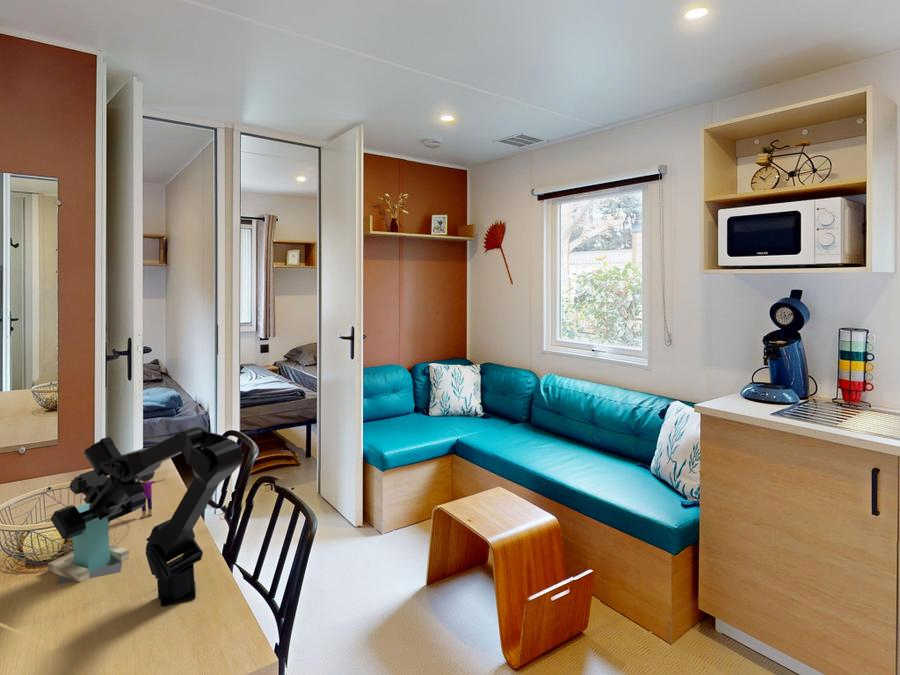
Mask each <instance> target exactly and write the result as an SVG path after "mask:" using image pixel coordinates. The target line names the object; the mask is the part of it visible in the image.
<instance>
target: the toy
mask: <svg viewBox="0 0 900 675" xmlns="http://www.w3.org/2000/svg"><path fill="white" fill-rule="evenodd" d="M155 474H156V472H155V471H154V472H153V473H150V474H148V475H145V476H142V477H139V478H140V481H141V482H142V485H143V487H144V492H143V493H144V495H145V496H146V503H145V505H144V506H143V507H142V508H141V513H142V514H141V517H142V518H143V519H145V518H146V517H147V515H148V516H149V517H152V516H153V505H152V504H153V499H152V497H153V493H152V491H153V490H152V485H153V484H156V483H160V482H163V481H166V478H161V479H157V480H153V481H151V480H152V479H153V478H154V476H155ZM146 511H148V513H147V512H146ZM151 515H152V516H151Z"/></svg>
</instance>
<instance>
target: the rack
mask: <svg viewBox="0 0 900 675" xmlns="http://www.w3.org/2000/svg"><path fill="white" fill-rule="evenodd" d="M109 546H110V558H111V559H115V560H118V561H121V562H122V561H125V560H127V559H128V560H129V559H130V549H128V548H126V547H125V548H124V547H121V546H118V545H114V544H111V543H109ZM122 563H123V562H122ZM47 565H48V566H47V567H48V572H49V573H52V574H54V575H57V576H63V577H66V578H69V579H72V580H75V581H74V582H78V583H82V582H84V581H86V580H89V579H90V578H89V569H87V568H83V567H80V566H77V565H74V551H72V552H70V553H68V554H66V555H63V556H61V557H59V558H56V559H54V560H52V561H50V562H48V563H47Z"/></svg>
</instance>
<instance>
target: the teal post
mask: <svg viewBox="0 0 900 675" xmlns="http://www.w3.org/2000/svg"><path fill="white" fill-rule="evenodd" d="M89 505H90V504H89V503H88V504H86V503H85V504H81V505H80V506H77V507H76V508H77V510H78V511H79V513H82V512H84V511H87V510H89ZM71 539H72V548H73V550H72V552H74V564H75V565H77V566H80V567H83V568H87V569H89V573H90V572H92V571H94V570H96V569H98V568H100V567H102V566H104V565H106V564H108V563H110V562H111V561H110V546H109V544H110V536H109V522H108V517H107V518H105V519H102V520H99V518H97V519H94V520H92V521H89V522H87V523H86V529H85V530H84V531H83V533H82V534H79V535H77V536H75V537H72V538H71Z"/></svg>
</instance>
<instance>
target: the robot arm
mask: <svg viewBox="0 0 900 675" xmlns="http://www.w3.org/2000/svg"><path fill="white" fill-rule="evenodd" d="M197 447H200V448H201V449H199V450H198V449H197ZM243 452H244V451H243V449H242V447H241V445H240V444H238V443H237V442H236V441H235V440H232V439H230V438H228V437H227V436H225V435H222V434H218V433H215V432H214V433H213V432H210V431H207V430H205V429H204V428H202V427H200V426H193V427H189V428H187V429H183V430H180V431H177V433H175V434H174V435H172V436H170V437H167V438H166V439H164V440H162V441H159V442H157V443H156V444H153V445H151V446H149V447H144V448H140V449H137V450H134V451H130V452H127V453H124V454H122V453H121V452H120V451H119V448H118V447H117V446H116V445H115V442H114V441H113V439H112V437H111V436H107V437H103V438H101V439H100V440H99V441H97V442H95V443H93V444H92V445H90V446H89V447H87V448H86V449H85V450H84V452H83V455H84V456H85V458H86V460H87V461H88V462H89V464H90V465H91V467H92V468H93V469H92V470H89V471H86V472H83V473H81V474H79V475H77V476H75V477H74V479H73V480H71V482H70V484H69V490H70V491H71V492H73V494H75V495H79V494H83V495H84V496H85V497H84V499H83V502H85V504H88V503H89V504H90V505H89V510H87V511H84V512H82V513H79V511H78V510H77V507H76V506H75V505H73V504H71V505H68V506H65V507H63V508H59V509H58V510H55V511H54V512H53V513H52V515H51V516H50V521H51V522H52V524H53V526H54V527H55V529H56V531H57V532H58V535H60V537H61V538H62V539H63V540H66V541H68V540H69V539H73V538H72V537H75V536H77V535H79V534H82V533H83V531H84V530H85V529H86V523H87V522H89V521H92V520H94V519H97V518H99V520H102V519H105V518H107V517H108V523H109V522H112V521H114V520H117V519H119V518H122V517H124V516H126V515H129V514H131V513H133V512H136V511H137V510H139V509H142V507H143V506H144V505H145V503H146V504H147V499H146V496H145V495H144V493H143V492H144V487H143V485H142V481H140V478H139V477H142V476H145V475H148V474H150V473H153V472H155V471H156V470H158V469H159V468H160V467H161V465H162V463H163V462H166V461H167V460H170V459H172V458H175V457H176V456H178V455H180V454H182V455H183V456H184V458H185V463H186V464H187V465H189V466H190V467H191V468H192V472H193V475H194V477H193V479H192V480H191V482H190V484H189V486H188V488H187V490H186V491H185V493H184V495H183V496H182V498H181V500H180V502H179V504H178V506H177V507H176V509H175V511H174V513H173V515H172V516H171V518H169V519H168V520H166V521H163V522H162V523H159V524H157V525H154V527H153V528H152V530H151V533H150V534H149V536H148V537H147V538H146V539H145V540H146V541H147V543H146V545H145V556H146V559H147V563H148V567H149V571H150V573H151V575H152V576H154V577H155V579H156V580H157V581H156V582H157V584H156V586H157V599H158V600H160V606H161V607H164V606H168V605H169V606H170V605H173V604H177V603H182V602H186V601H187V602H188V601H190V600H194V599H196V597H197V596H196V594H197V592H196V581H195V566H194V564H196V563H197V562H200V561H202V558H203V554H204V553H203V552H204V551H203V550H202V549H201V547H200V546H199V544H198V543H197V541H196V539H195V537H196V534H195V531H194V527H195V526H196V524H197V522H198V521H199V519H200V517H201V516H202V514H203V513H204V510H206V507H207V505H208V503H209V502H210V500H211V499H212V496H213V495H214V494H215V492H216V490H217V489H218V487H219V485H220V484H221V483H222V482H223V481H224V480H226V479H227V478H228V477H229V476H231V475H232V474H233V473H234V472H235V471H236V470H237V469H238V468H239V467H240V466H241V464H242V463H243V460H244V455H243Z"/></svg>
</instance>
